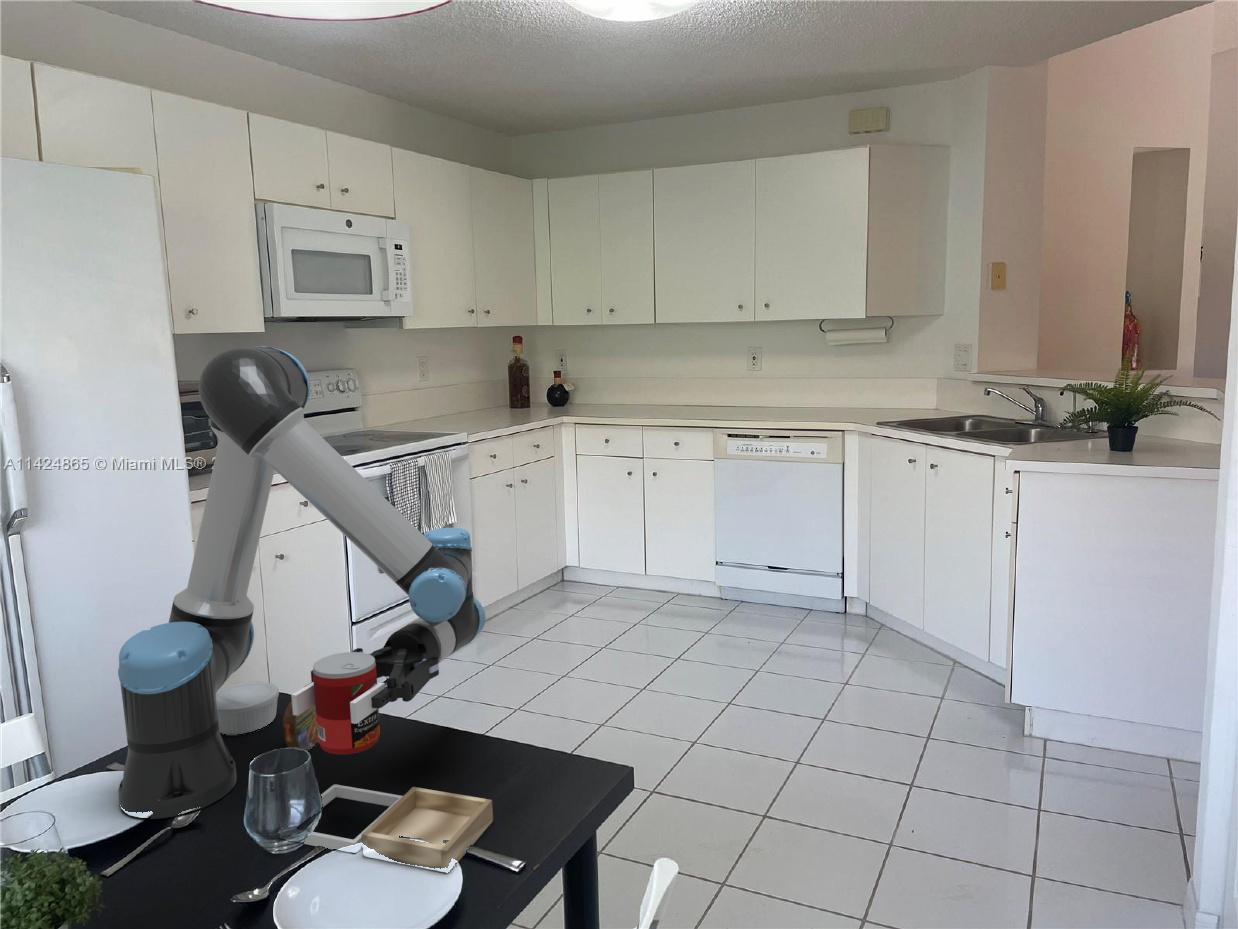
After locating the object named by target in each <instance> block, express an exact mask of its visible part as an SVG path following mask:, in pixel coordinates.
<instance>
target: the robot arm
mask: <svg viewBox="0 0 1238 929" xmlns="http://www.w3.org/2000/svg"><path fill="white" fill-rule="evenodd" d="M309 378H310V377H309V374H308V373H307V371H306V368H305V367H304V365H303V364H302V363H301V362H300V361H299V359H298V358H296V356H294V355H292V354H290V353H288V352H287V351H285V350H282V349H280V348H275V347H274V346H266V345H257V346H256V345H255V346H253V347H234V348H229V349H226V350H225V351H222V352H220V353H218V354H217V355H215V356H213V358H211V359H210V360H209V361H208V362H207V364H206V365H205V366H204V368H203V370H202V371H201V373H200V377H199V381H198V395H199V400H200V402H201V404H202V405H201V406H202V407H203V409H204V411H205V412H206V414H207V415H208V417H209V419H210V420H211V423H210V428H211V430H212V432H213V433H214V434H215V436H217V438H218V444H217V448H216V454H215V457H214V462H213V467H212V472H211V476H210V481H209V486H208V490H207V494H206V499H205V503H204V508H203V512H202V513H203V514H202V517H201V522H200V527H199V532H198V536H197V541H196V547H195V549H194V550H195V551H194V555H193V559H192V563H191V570H190V573H189V578H188V583H187V586H186V588H184V589H183V590H182V591H179V592H178V593H176V594H175V595H174V596H173V600H172V601H173V602H172V606H171V611H170V614H169V618H168V619H169V620H168V622H166V623H162V624H158V625H154V626H152V627H151V626H150V629H143V630H141V631H140V632H137V633H135V634H134V635H132V636H131V637H130V638H128V639H127V640H126V641H125V642H124V644H123V645H122V646H121V648H120V651H119V653H118V670H117V676H118V679H119V682H120V683H119V684H120V690H121V699H122V706H123V707H122V708H123V716H124V725H125V733H126V734H125V735H126V742H127V753H126V759H125V764H124V768H123V775H122V779H121V781H119V782H120V783H119V785H118V792H117V793H118V794H117V796H118V803H120V805H121V807H122V808H123V809H125V811H128V812H136V813H137V812H142V813H143V812H148V811H149V812H150V811H152V812H153V815H152V816H151V818H150V819H149V820H157V819H158V820H159V819H166V818H168V819H169V818H174V817H178V816H177V815H178V814H179V813H181V812H182V811H186V810H189V809H193V808H197V807H198V808H199V807H201V809H203V808H206V807H208V806H210V805H213V804H214V803H216V802H217V801H219V800H222V798H224V797H225V796H227V795H228V794H229V793H230V792H231V791H232V790H233V788H234V787H235V786H236V783H237V780H238V779H237V777H238V776H237V768H236V762H235V760H234V758H233V757H232V755H231V753H230V751H229V749H228V746H227V743H226V742H225V740H224V738H223V736H222V734H221V733H220V731H219V725H218V713H217V702H216V692H217V691H219V690H220V689H221V688H222V686H223V685H224V684H225V682H227V681H228V679H229V678H231V676H233V674H234V673H235V672H237V670H239V669H240V668H241V667H242V665H243V664H244V663H245V662H246V660H247V659H248V657H249V655H250V652H251V650H252V647H253V645H254V639H255V629H254V625H253V622H252V619H253V616H254V615H253V614H254V610H255V606H254V605H255V604H254V603H253V602H252V601H251V599H250V598H249V597H248V591H249V586H250V583H251V577H252V572H253V568H254V564H255V559H256V555H257V551H258V546H259V541H260V537H261V533H262V529H263V524H264V521H265V520H264V518H265V514H266V510H267V506H268V501H269V497H270V493H271V488H272V484H273V478H274V474H275V471H276V473H278V474H279V475H280V476H281V477H282V478H283V479H284V480H285V481H286V482H287V483H289V484H290V486H292V487H293V488H294V489H295V490H296V491H297V492H298V493H299V494H300V495H301V496H302V497H303V498H304V499H305V500H306V501H308V503H310V505H312V506H313V507H314V508H315V509H316V510H317V511H318V512H319V513H320V514H321V515H322V516H324V517H325V518H326V519H327V520H328V521H329V522H330V523H331V524H332V525H333V526H334V527H335V528H336V529H337V530H338V531H340V533H341V534H343V535H344V536H345V537H346V538H347V539H348V540H349V541H350V542H351V543H352V544H353V545H354V546H355V547H356V548H358V550H360V551H361V552H362V554H364V555H365V556H366V557H367V558H368V559H369V560H370V561H371V562H373V563H374V564H375V566H376V567H378V569H380V570H381V571H382V572H383V573H384V574H385V575H386V576H387V577H388V578H389V579H390V580H391V581H392V582H393V583H395V584H396V585H397V586H398V587H399V588H400V589H401V590H402V592H404V593H405V594H406V595H408V601H409V605H410V607H411V610H412V611H413V613H414V614H415V615H416V616H417V617H418V618H416V619H414V620H413V621H411V622H409V623H407V624H406V625H404V626H403V627H401V628H399V629H398V630H396V631H394V632H392V633H391V634H390V635H389V637H388V638H387V640H386V641H385V643H384V645H383V646H382V648H379V649H377V650H374V651H372V652H371V653H368V654H369V655H372V656H373V657H374V658H375V663H376V673H377V679H379V678H382V677H384V678H386V683H385V682H377V685H375V686H374V687H372V688H371V689H369V690H368V691H366V692H365V693H363V694H362V695H360V696H359V697H357V698H356V699H354V700H353V701H352V702H350V711H351V723H354V724H357V723H358V722H360V721H361V720H363V719H364V718H365V717H367V716H368V715H370V714H371V713H372V712H374V711H375V710H377V709H379V710H380V709H382V708H383V707H384V706H386V705H387V704H388V703H393V702H396V701H398V699H402V701H403V702H406V703H407V702H410V701H412V700H413V699H414V698H415V696H416V695H417V694H418V693H419V692H420V691H422V689H423V688H424V687H425V686H426V685H427V684H428V682H430V680H431V679H434V678H436V677H437V676H439V675H440V670H439V669H440V668H439V664H440V663H441V662H443V661H444V660H445V659H447V658H448V657H450V656H451V655H452V654H454V653H455V652H457V651H458V650H460V649H461V648H463V647H464V646H467V645H468V644H470V643H471V642H472V641H473V640H474V639H475V638H476V637H477V636H478V635H479V634H480V633H481V632H482V631H483V629H484V627H485V625H486V611H485V610H484V607H483V606H482V603H481V602H480V601H479V600H478V599H477V598H476V597H475V596H474V591H473V586H474V585H473V557H472V554H473V553H472V552H473V547H472V542H471V534H470V532H469V531H468V530H466V529H465V528H461V527H441V528H440V527H439V528H434V529H431V530H428V531H426V532H425V533H424V534H423V533H422V532H421V531H420V530H419V529H418V528H416V527H415V526H414V524H412V523H411V521H410V520H408V518H406V517H405V516H404V515H403V514H402V513H401V512H400V511H399V510H398V509H397V508H396V507H395V506H394V505H392V503H390V501H389V500H388V499H387V498H385V496H383V494H382V493H381V492H379V491H378V490H377V489H376V488H375V487H374V486H373V485H372V484H371V483H370V482H369V481H368V480H367V479H366V478H365V477H364V476H363V475H362V474H361V473H360V472H359V471H357V470H356V468H354V466H352V464H350V463H349V462H348V461H347V460H346V459H345V458H344V457H343V456H342V455H341V454H339V452H338V451H337V450H336V449H335V448H334V447H333V446H331V445H330V444H329V442H328V441H326V439H325V438H323V437H322V436H321V435H320V434H319V433H318V432H317V431H316V430H315V429H314V428H313V427H312V426H311V425H310V424H309V423H308V422H307V421H305V413H304V409H305V407H306V405H307V403H308V400H309V397H310V393H311V382H310V379H309ZM351 652H360V653H364V650H363V648H362V647H358V648H355V649H354V650H352V651H351ZM310 678H311V680H310V681H311V682H310V683H308V684H306V685H305V686H303V687H302V688H301V689H299V690H297V691H295V692H293V693H292V694H291V696H290V697H291V701H292V708H293V715H297V716H298V715H300V714H301V713H303V712H305V711H306V710H308V709H309V708H311V707H312V706H314V705H315V694H314V682H313V669H312V670H310ZM120 805H119V806H120Z"/></svg>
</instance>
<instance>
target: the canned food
mask: <svg viewBox="0 0 1238 929" xmlns="http://www.w3.org/2000/svg"><path fill="white" fill-rule="evenodd" d="M369 654H370V653H364V652H363V653H360V652H352V651H351V652H349V651H348V652H340V653H333V654H330V655H327V656H324V657H322V658H320V659H318V660H317V661H315V662H314V663H313V665H312V666H313V667H312V670H313V682H314V694H315V706H316V719H317V731H318V741H319V743H318V745H319V746H320V748H321V749H322V750H323V751H325V752H326V753H329V754H331V755H332V754H333V755H353V754H356V753H361V752H364V751H366V750H369V749H370V748H372V747H374V746H375V745H376V744H377V742H378V741H379V738H380V735H381V724H380V723H381V722H380V708H379V709H377V710H375V711H374V712H372V713H371V714H370V715H368V716H367V717H365V718H364V719H363V720H361V721H360V722H358V723H357V724H354V723H351V711H350V702H352V701H353V700H354V699H356V698H357V697H359V696H360V695H362V694H363V693H365V692H366V691H368V690H369V689H371V688H372V687H374V686H375V685H377V684H378V678H377V673H376V663H375V658H374V657H373V656H372V655H369Z"/></svg>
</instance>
